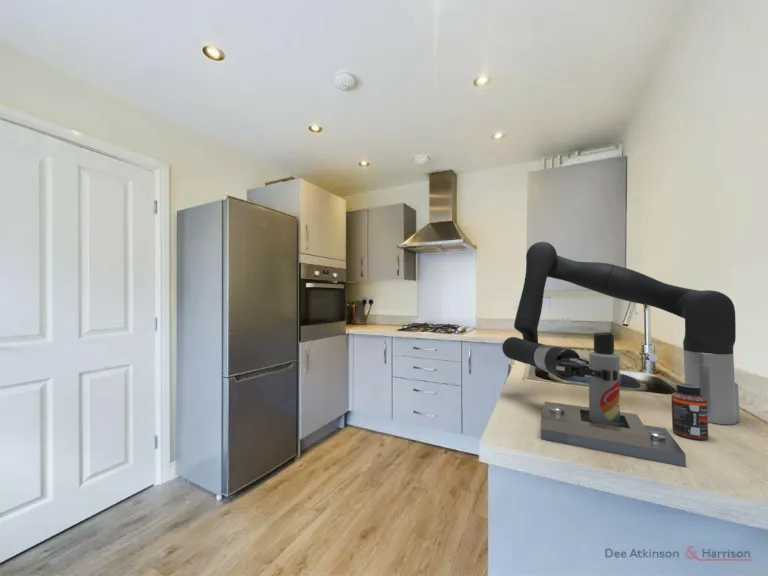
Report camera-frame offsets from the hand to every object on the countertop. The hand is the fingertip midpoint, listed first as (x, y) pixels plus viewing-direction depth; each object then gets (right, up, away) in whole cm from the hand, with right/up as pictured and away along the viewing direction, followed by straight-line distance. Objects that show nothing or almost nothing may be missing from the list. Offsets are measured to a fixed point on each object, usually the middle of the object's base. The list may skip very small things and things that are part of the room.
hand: (612, 376), depth 69 cm
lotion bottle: (0, -11, +3) cm, 12 cm away
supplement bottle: (+21, -15, +4) cm, 26 cm away
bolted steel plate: (0, -15, +2) cm, 15 cm away
